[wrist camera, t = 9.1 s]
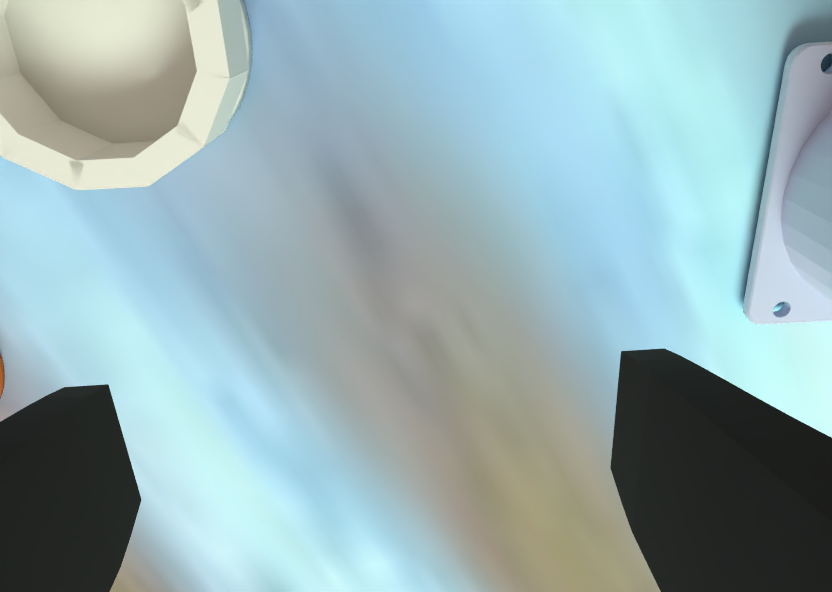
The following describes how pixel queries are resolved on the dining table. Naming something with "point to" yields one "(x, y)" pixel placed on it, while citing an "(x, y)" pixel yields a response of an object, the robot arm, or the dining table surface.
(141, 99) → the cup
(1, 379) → the coffee cup
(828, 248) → the robot arm
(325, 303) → the dining table surface
